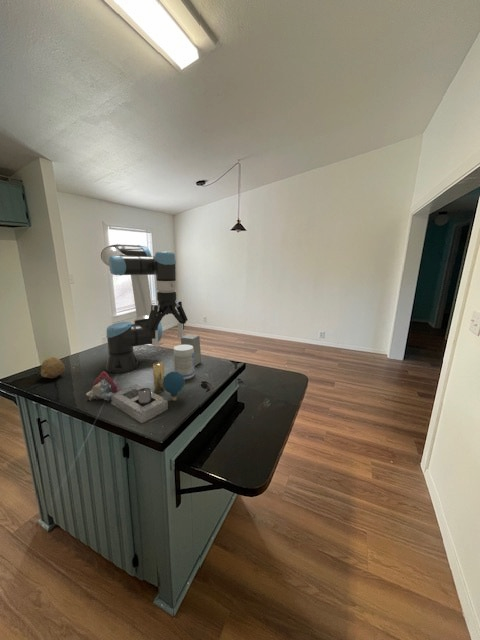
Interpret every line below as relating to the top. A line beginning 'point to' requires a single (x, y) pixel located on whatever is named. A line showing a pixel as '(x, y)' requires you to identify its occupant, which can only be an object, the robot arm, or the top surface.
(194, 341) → the skincare box
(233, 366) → the top surface
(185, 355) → the supplement tub
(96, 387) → the grey red irregular piece
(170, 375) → the light bulb
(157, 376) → the brass bushing
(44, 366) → the natural sponge
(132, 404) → the jig
